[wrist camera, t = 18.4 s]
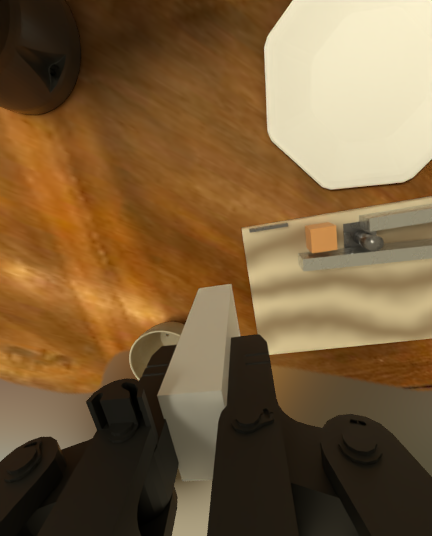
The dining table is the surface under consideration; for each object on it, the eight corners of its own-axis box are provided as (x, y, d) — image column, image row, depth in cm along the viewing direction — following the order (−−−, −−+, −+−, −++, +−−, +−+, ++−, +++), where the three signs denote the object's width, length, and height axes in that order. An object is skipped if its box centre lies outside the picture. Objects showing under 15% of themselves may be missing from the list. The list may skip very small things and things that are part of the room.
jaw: (297, 248, 36) (302, 254, 33) (530, 222, 33) (557, 226, 30) (298, 265, 37) (303, 272, 34) (526, 241, 34) (553, 247, 31)
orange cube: (304, 225, 36) (310, 229, 33) (328, 221, 35) (336, 225, 32) (306, 247, 36) (312, 253, 34) (329, 244, 36) (337, 249, 33)
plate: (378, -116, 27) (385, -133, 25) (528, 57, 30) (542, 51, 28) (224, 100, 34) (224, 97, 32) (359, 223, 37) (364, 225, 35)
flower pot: (218, 328, 43) (214, 356, 36) (187, 371, 46) (177, 404, 39) (164, 295, 42) (149, 317, 35) (135, 341, 45) (116, 370, 38)
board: (241, 227, 38) (241, 229, 37) (537, 178, 33) (548, 178, 32) (260, 351, 43) (261, 355, 42) (515, 324, 38) (523, 329, 37)
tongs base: (249, 228, 36) (250, 234, 32) (533, 181, 32) (577, 181, 28) (254, 266, 38) (256, 277, 34) (526, 227, 33) (567, 233, 29)
